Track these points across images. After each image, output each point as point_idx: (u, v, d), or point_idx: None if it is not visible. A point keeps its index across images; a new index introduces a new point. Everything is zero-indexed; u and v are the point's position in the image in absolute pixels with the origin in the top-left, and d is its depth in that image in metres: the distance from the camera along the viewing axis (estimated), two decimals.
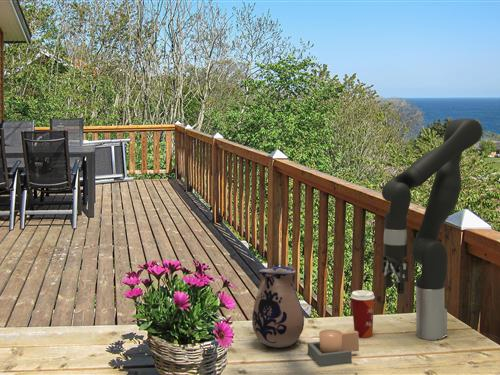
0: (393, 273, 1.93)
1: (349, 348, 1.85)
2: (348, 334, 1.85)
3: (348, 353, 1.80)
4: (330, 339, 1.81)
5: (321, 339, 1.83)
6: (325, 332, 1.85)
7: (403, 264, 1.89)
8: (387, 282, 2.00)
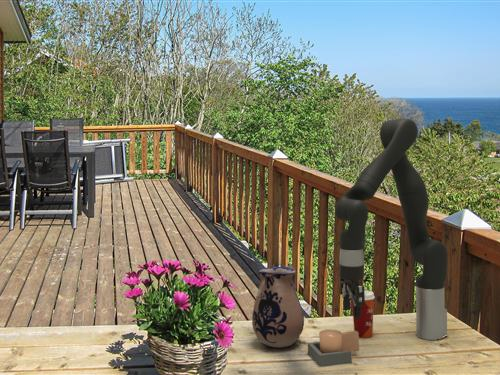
0: (349, 296, 1.82)
1: (349, 348, 1.85)
2: (348, 334, 1.85)
3: (348, 353, 1.80)
4: (330, 340, 1.81)
5: (321, 339, 1.83)
6: (325, 332, 1.84)
7: (359, 287, 1.78)
8: (345, 304, 1.89)
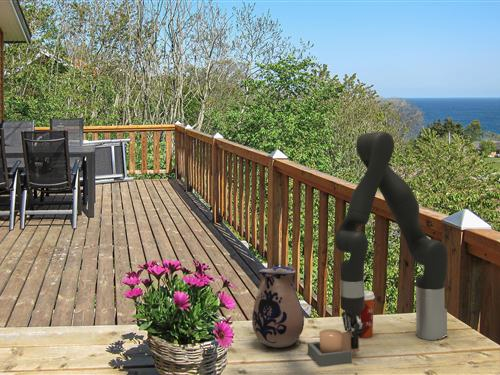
0: (348, 326, 1.84)
1: (349, 348, 1.85)
2: (348, 334, 1.85)
3: (348, 353, 1.80)
4: (330, 339, 1.81)
5: (321, 339, 1.83)
6: (325, 332, 1.84)
7: (359, 325, 1.79)
8: None
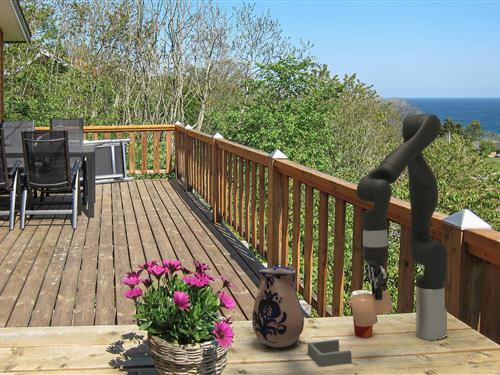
0: (372, 277, 1.81)
1: (383, 309, 1.83)
2: None
3: (348, 353, 1.80)
4: (362, 304, 1.78)
5: (353, 305, 1.80)
6: (356, 298, 1.82)
7: (384, 274, 1.76)
8: (374, 293, 1.83)
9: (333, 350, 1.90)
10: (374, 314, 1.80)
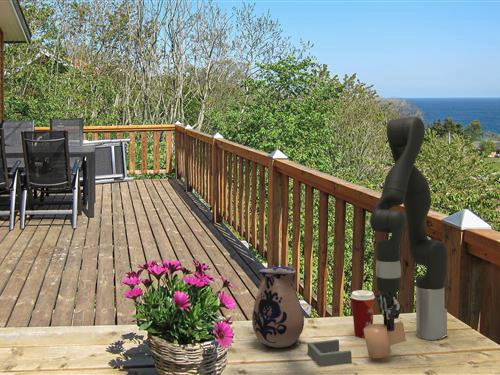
0: (384, 308, 1.80)
1: (396, 340, 1.82)
2: None
3: (348, 353, 1.80)
4: (376, 335, 1.78)
5: (367, 336, 1.80)
6: (369, 328, 1.81)
7: (397, 306, 1.75)
8: (386, 323, 1.82)
9: (333, 350, 1.90)
10: (388, 345, 1.79)
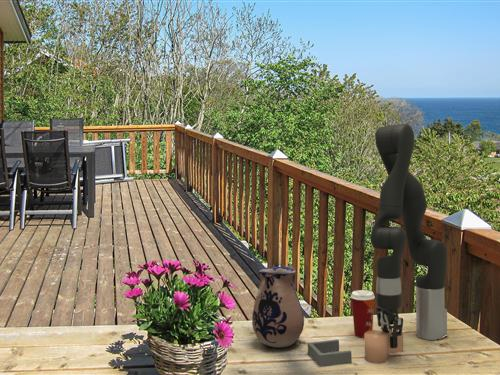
0: (386, 325, 1.80)
1: (394, 349, 1.83)
2: None
3: (348, 353, 1.80)
4: (377, 341, 1.78)
5: (367, 340, 1.80)
6: (370, 334, 1.82)
7: (398, 320, 1.75)
8: None
9: (333, 350, 1.90)
10: (386, 353, 1.80)
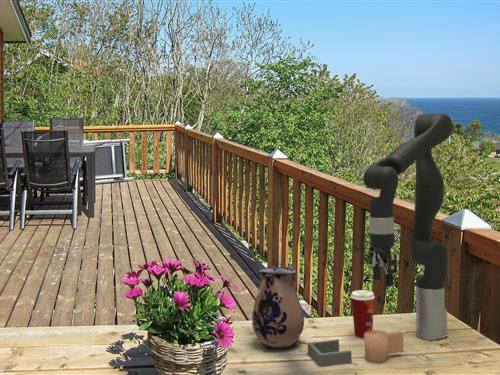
0: (381, 264, 1.80)
1: (394, 349, 1.83)
2: (393, 335, 1.83)
3: (348, 353, 1.80)
4: (377, 341, 1.78)
5: (367, 340, 1.80)
6: (370, 334, 1.82)
7: (391, 254, 1.76)
8: (375, 274, 1.87)
9: (333, 350, 1.90)
10: (386, 353, 1.80)
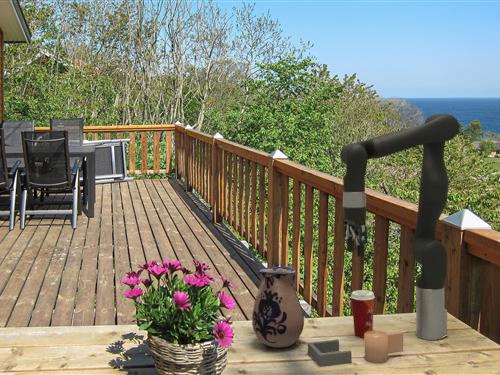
0: (353, 236, 1.91)
1: (394, 349, 1.83)
2: (393, 335, 1.83)
3: (348, 353, 1.80)
4: (377, 341, 1.78)
5: (367, 340, 1.80)
6: (370, 334, 1.82)
7: (362, 226, 1.87)
8: (349, 246, 1.98)
9: (333, 350, 1.90)
10: (386, 353, 1.80)
